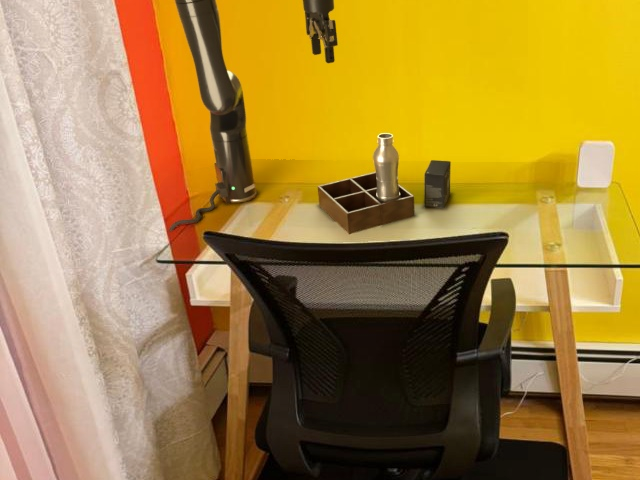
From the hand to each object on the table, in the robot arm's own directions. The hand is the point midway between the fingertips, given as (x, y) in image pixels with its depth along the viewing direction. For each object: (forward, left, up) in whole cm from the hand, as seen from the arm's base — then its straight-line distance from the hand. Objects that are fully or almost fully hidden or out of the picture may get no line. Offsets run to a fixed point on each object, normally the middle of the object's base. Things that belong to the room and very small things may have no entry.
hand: (323, 58), depth 201 cm
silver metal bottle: (+5, -25, -34) cm, 42 cm away
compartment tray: (0, -20, -34) cm, 40 cm away
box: (+19, -25, -34) cm, 47 cm away
